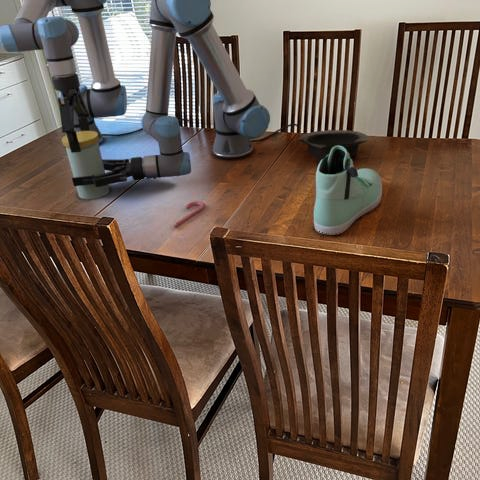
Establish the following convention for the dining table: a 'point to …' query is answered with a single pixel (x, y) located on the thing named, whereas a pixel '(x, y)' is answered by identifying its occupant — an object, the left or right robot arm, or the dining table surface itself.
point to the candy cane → (194, 213)
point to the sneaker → (343, 192)
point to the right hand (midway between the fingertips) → (76, 175)
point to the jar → (88, 169)
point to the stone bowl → (333, 142)
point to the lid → (83, 138)
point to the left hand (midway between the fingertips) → (81, 144)
